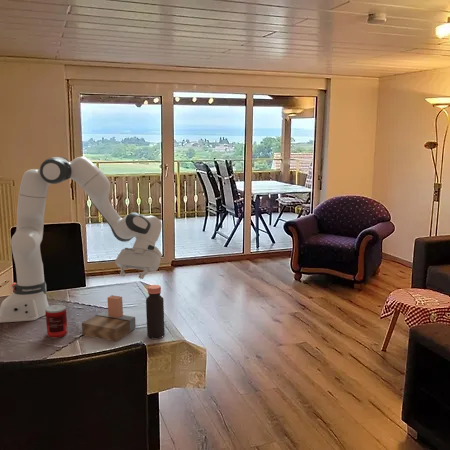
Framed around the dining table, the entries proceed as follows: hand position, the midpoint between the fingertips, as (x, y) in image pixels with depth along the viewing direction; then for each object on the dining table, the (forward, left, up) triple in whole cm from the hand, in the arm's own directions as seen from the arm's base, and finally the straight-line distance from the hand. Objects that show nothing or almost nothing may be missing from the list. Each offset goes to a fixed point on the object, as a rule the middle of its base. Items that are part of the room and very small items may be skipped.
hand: (131, 276), depth 204 cm
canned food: (-31, -7, -18) cm, 37 cm away
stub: (-8, -9, -18) cm, 22 cm away
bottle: (+5, -23, -18) cm, 29 cm away
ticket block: (-13, -14, -18) cm, 26 cm away
